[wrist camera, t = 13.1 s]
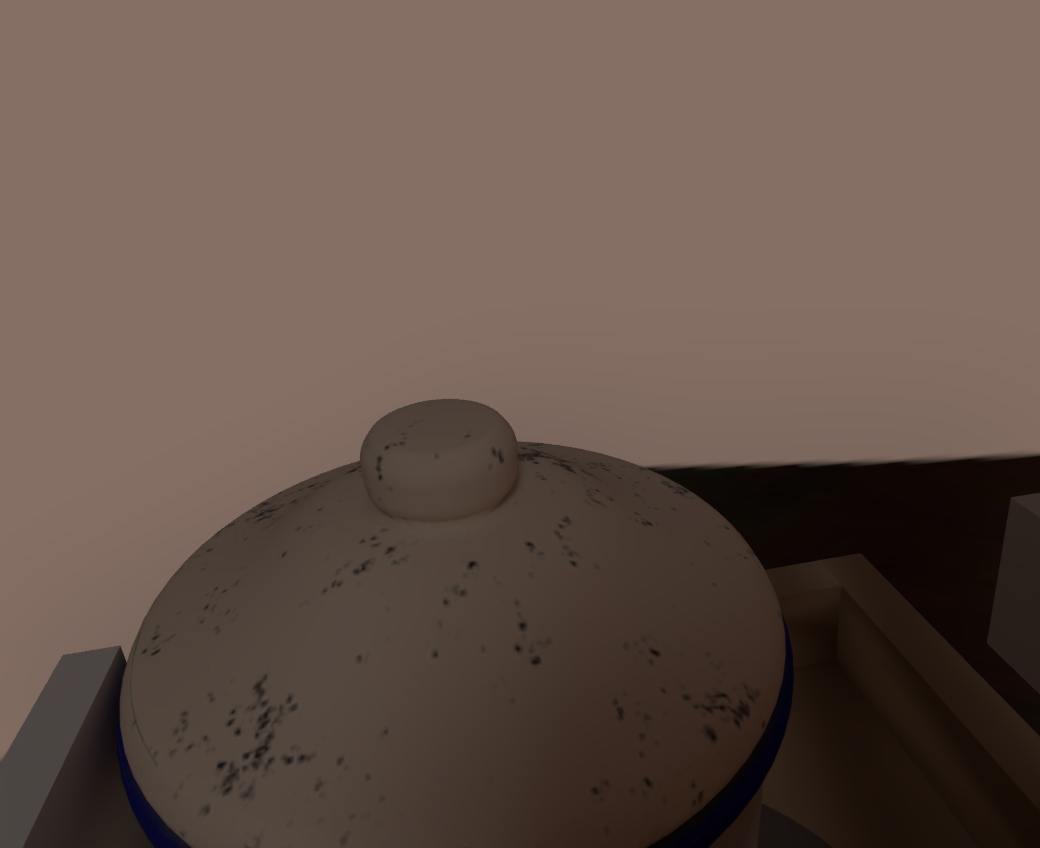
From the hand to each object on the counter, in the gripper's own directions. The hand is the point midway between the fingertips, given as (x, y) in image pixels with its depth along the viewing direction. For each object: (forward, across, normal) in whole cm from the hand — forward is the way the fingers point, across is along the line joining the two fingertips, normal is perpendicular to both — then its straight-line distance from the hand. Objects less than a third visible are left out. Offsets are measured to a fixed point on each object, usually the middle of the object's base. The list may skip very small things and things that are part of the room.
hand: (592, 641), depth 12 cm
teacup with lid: (-1, -2, -8) cm, 8 cm away
